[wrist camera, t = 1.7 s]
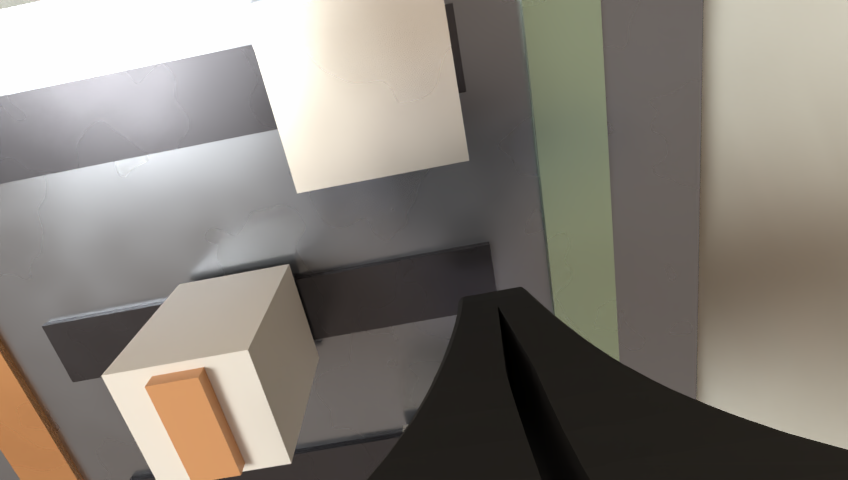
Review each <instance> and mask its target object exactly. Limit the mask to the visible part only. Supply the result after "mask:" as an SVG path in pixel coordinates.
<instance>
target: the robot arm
mask: <svg viewBox="0 0 848 480" xmlns="http://www.w3.org/2000/svg"><path fill="white" fill-rule="evenodd" d="M366 480H848V450H846V449H843V448H839V447H835V446H832V445H828V444H824V443H821V442H817V441H814V440H810V439H806V438H803V437H799V436H795V435H792V434H788V433H785V432H782V431H779V430H776V429H773V428H770V427H767V426H764V425H761V424H758V423H756V422H753V421H750V420H747V419H744V418H741V417H738V416H735V415H733V414H730V413H727V412H725V411H722V410H720V409H717V408H714V407H712V406H709V405H707V404H705V403H702V402H700V401H698V400H695V399H693V398H691V397H688V396H686V395H684V394H682V393H679V392H677V391H675V390H672V389H670V388H668V387H666V386H664V385H662V384H660V383H658V382H656V381H654V380H652V379H650V378H648V377H646V376H644V375H643V374H641V373H639V372H637V371H635V370H633V369H631V368H630V367H628V366H626V365H624V364H622V363H621V362H619V361H617V360H616V359H614V358H612V357H611V356H609V355H608V354H606V353H605V352H603V351H602V350H600V349H599V348H597V347H596V346H594V345H593V344H591V343H590V342H589V341H587V340H586V339H584V338H583V337H582V336H580V335H579V334H578V333H576V332H575V331H574V330H573V329H571V328H570V327H569V326H567V325H566V324H565V323H563V322H562V321H561V320H560V319H559V318H557V317H556V316H555V315H554V314H553V313H551V312H550V311H549V310H548V309H547V308H546V307H544V306H543V305H542V304H541V303H540V302H539V301H538V300H537V299H536V298H535V297H533V296H532V295H531V294H530V293H529V292H528V291H527V290H526V289H524V288H523V287H516V288H510V289H505V290H499V291H493V292H488V293H482V294H477V295H471V296H465V297H462V298H461V300H460V301H459V302H458V311H457V317H456V321H455V325H454V328H453V332H452V335H451V338H450V341H449V344H448V347H447V349H446V352H445V355H444V358H443V360H442V362H441V364H440V367H439V369H438V371H437V373H436V375H435V378H434V380H433V382H432V384H431V386H430V388H429V390H428V392H427V394H426V396H425V398H424V399H423V401H422V403H421V405H420V406H419V408H418V410H417V411H416V413H415V415H414V416H413V418H412V420H411V421H410V423H409V424H408V426H407V427H406V429H405V430H404V432H403V433H402V434H401V436H400V437H399V439H398V440H397V442H396V443H395V445H394V446H393V447H392V449H391V450H390V451H389V453H388V454H387V455H386V457H385V458H384V459H383V460H382V462H381V463H380V464H379V465H378V466H377V468H376V469H375V470H374V471H373V472H372V473H371V475H370V476H369V477H368V478H367V479H366Z"/></svg>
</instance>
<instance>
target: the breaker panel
mask: <svg viewBox="0 0 848 480" xmlns="http://www.w3.org/2000/svg"><path fill="white" fill-rule="evenodd" d="M702 43H703V0H43V1H38V2H33V3H29V4H24V5H19V6H15V7H10V8H5V9H1V10H0V480H156V479H155V477H154V475H153V473H152V471H151V469H150V468H149V466H148V464H147V462H146V460H145V458H144V456H143V454H142V452H141V450H140V449H139V447H138V445H137V443H136V441H135V439H134V437H133V435H132V433H131V431H130V430H129V428H128V426H127V424H126V422H125V420H124V418H123V416H122V414H121V412H120V411H119V409H118V407H117V405H116V403H115V401H114V399H113V397H112V395H111V393H110V392H109V390H108V388H107V386H106V384H105V382H104V380H103V378H102V376H101V375H102V374H103V373H104V372H105V371H106V369H107V368H108V367H109V366H110V365H111V364H112V362H113V361H114V360H115V359H116V358H117V357H118V355H119V354H120V353H121V352H122V351H123V350H124V348H125V347H126V346H127V345H128V344H129V342H130V341H131V340H132V339H133V338H134V337H135V335H136V334H137V333H138V332H139V331H140V330H141V328H142V327H143V326H144V325H145V324H146V323H147V321H148V320H149V319H150V318H151V317H152V315H153V314H154V313H155V312H156V311H157V310H158V308H159V307H160V306H161V305H162V304H163V303H164V301H165V300H166V299H167V298H168V297H169V296H170V294H171V293H172V292H173V291H174V290H175V288H176V287H177V286H178V285H179V284H183V283H189V282H194V281H200V280H205V279H210V278H216V277H221V276H227V275H232V274H238V273H243V272H248V271H254V270H259V269H265V268H270V267H276V266H281V265H287V264H289V265H290V268H291V272H292V275H293V278H294V281H295V284H296V287H297V290H298V293H299V296H300V299H301V303H302V306H303V309H304V312H305V315H306V318H307V321H308V324H309V327H310V331H311V334H312V337H313V340H314V343H315V346H316V349H317V352H318V355H319V360H318V364H317V368H316V372H315V376H314V379H313V383H312V387H311V391H310V395H309V398H308V402H307V406H306V410H305V414H304V418H303V421H302V425H301V429H300V433H299V437H298V440H297V444H296V448H295V452H294V456H293V459H292V463H291V464H286V465H280V466H274V467H268V468H262V469H255V470H249V471H243V472H242V474H241V475H240V476H234V477H227V478H221V479H215V480H366V479H367V478H368V477H369V476H370V475H371V473H372V472H373V471H374V470H375V469H376V468H377V466H378V465H379V464H380V463H381V462H382V460H383V459H384V458H385V457H386V455H387V454H388V453H389V451H390V450H391V449H392V447H393V446H394V445H395V443H396V442H397V440H398V439H399V437H400V436H401V434H402V433H403V432H404V430H405V429H406V427H407V426H408V424H409V423H410V421H411V420H412V418H413V416H414V415H415V413H416V411H417V410H418V408H419V406H420V405H421V403H422V401H423V399H424V398H425V396H426V394H427V392H428V390H429V388H430V386H431V384H432V382H433V380H434V378H435V375H436V373H437V371H438V369H439V367H440V364H441V362H442V360H443V358H444V355H445V352H446V349H447V347H448V344H449V341H450V338H451V335H452V332H453V328H454V325H455V321H456V317H457V311H458V302H459V301H460V300H461V298H462V297H465V296H471V295H477V294H482V293H488V292H493V291H499V290H505V289H510V288H516V287H523V288H524V289H526V290H527V291H528V292H529V293H530V294H531V295H532V296H533V297H535V298H536V299H537V300H538V301H539V302H540V303H541V304H542V305H543V306H544V307H546V308H547V309H548V310H549V311H550V312H551V313H553V314H554V315H555V316H556V317H557V318H559V319H560V320H561V321H562V322H563V323H565V324H566V325H567V326H569V327H570V328H571V329H573V330H574V331H575V332H576V333H578V334H579V335H580V336H582V337H583V338H584V339H586V340H587V341H589V342H590V343H591V344H593V345H594V346H596V347H597V348H599V349H600V350H602V351H603V352H605V353H606V354H608V355H609V356H611V357H612V358H614V359H616V360H617V361H619V362H621V363H622V364H624V365H626V366H628V367H630V368H631V369H633V370H635V371H637V372H639V373H641V374H643V375H644V376H646V377H648V378H650V379H652V380H654V381H656V382H658V383H660V384H662V385H664V386H666V387H668V388H670V389H672V390H675V391H677V392H679V393H682V394H684V395H686V396H688V397H691V398H693V399H695V400H696V384H697V327H698V270H699V214H700V157H701V100H702Z"/></svg>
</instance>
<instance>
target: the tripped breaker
mask: <svg viewBox="0 0 848 480" xmlns="http://www.w3.org/2000/svg"><path fill="white" fill-rule="evenodd" d="M318 360H319V355H318V352H317V349H316V346H315V343H314V340H313V337H312V334H311V331H310V327H309V324H308V321H307V318H306V315H305V312H304V309H303V306H302V303H301V299H300V296H299V293H298V290H297V287H296V284H295V281H294V278H293V275H292V272H291V268H290V265H289V264H287V265H281V266H276V267H270V268H265V269H259V270H254V271H248V272H243V273H238V274H232V275H227V276H221V277H216V278H210V279H205V280H200V281H194V282H189V283H183V284H179V285H178V286H177V287H176V288H175V290H174V291H173V292H172V293H171V294H170V296H169V297H168V298H167V299H166V300H165V301H164V303H163V304H162V305H161V306H160V307H159V308H158V310H157V311H156V312H155V313H154V314H153V315H152V317H151V318H150V319H149V320H148V321H147V323H146V324H145V325H144V326H143V327H142V328H141V330H140V331H139V332H138V333H137V334H136V335H135V337H134V338H133V339H132V340H131V341H130V342H129V344H128V345H127V346H126V347H125V348H124V350H123V351H122V352H121V353H120V354H119V355H118V357H117V358H116V359H115V360H114V361H113V362H112V364H111V365H110V366H109V367H108V368H107V369H106V371H105V372H104V373H103V374H102V375H101V376H102V378H103V380H104V382H105V384H106V386H107V388H108V390H109V392H110V393H111V395H112V397H113V399H114V401H115V403H116V405H117V407H118V409H119V411H120V412H121V414H122V416H123V418H124V420H125V422H126V424H127V426H128V428H129V430H130V431H131V433H132V435H133V437H134V439H135V441H136V443H137V445H138V447H139V449H140V450H141V452H142V454H143V456H144V458H145V460H146V462H147V464H148V466H149V468H150V469H151V471H152V473H153V475H154V477H155V479H156V480H215V479H221V478H227V477H234V476H240V475H241V474H242V472H243V471H249V470H255V469H262V468H268V467H274V466H280V465H286V464H291V463H292V459H293V456H294V452H295V448H296V444H297V440H298V437H299V433H300V429H301V425H302V421H303V418H304V414H305V410H306V406H307V402H308V398H309V395H310V391H311V387H312V383H313V379H314V376H315V372H316V368H317V364H318Z"/></svg>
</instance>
